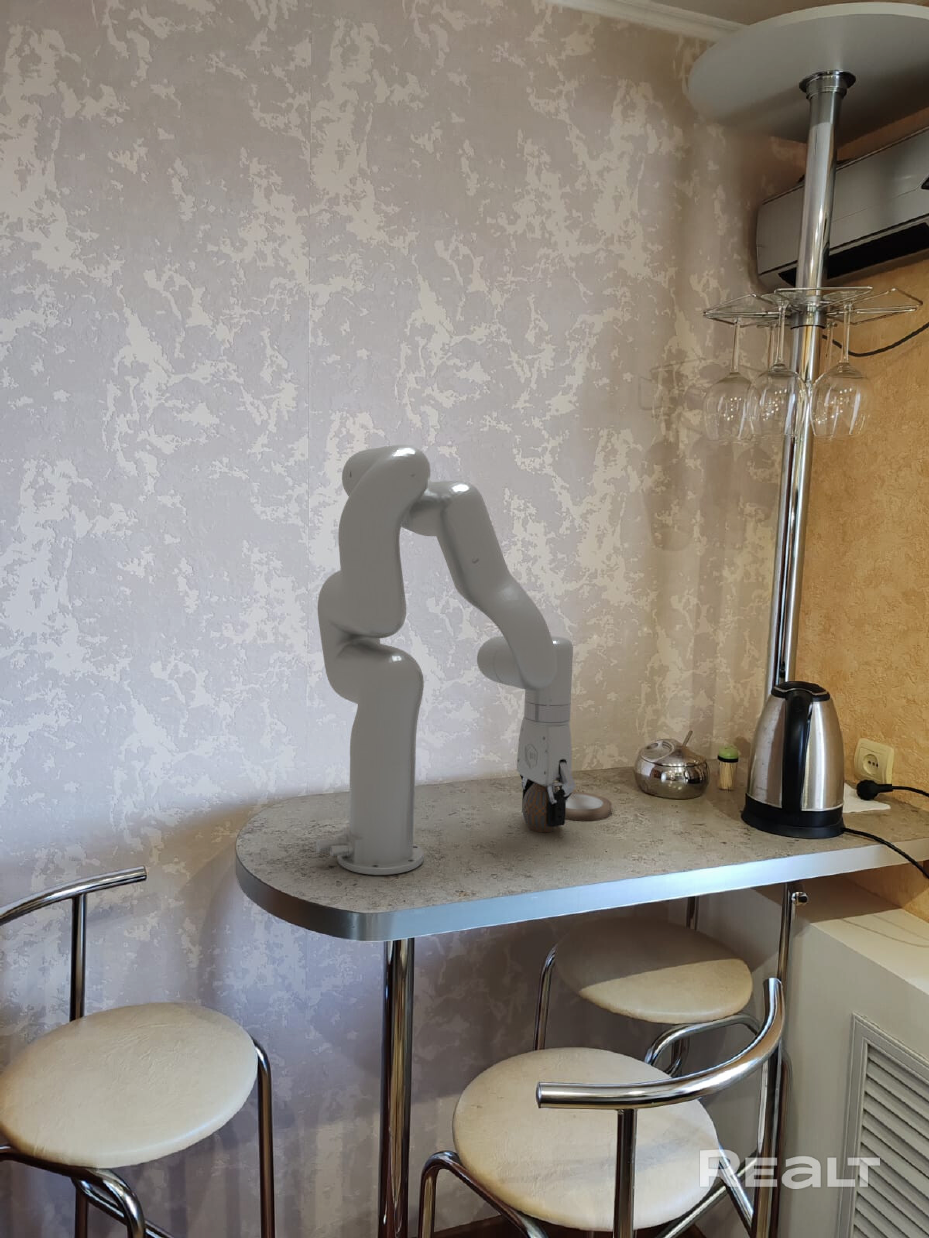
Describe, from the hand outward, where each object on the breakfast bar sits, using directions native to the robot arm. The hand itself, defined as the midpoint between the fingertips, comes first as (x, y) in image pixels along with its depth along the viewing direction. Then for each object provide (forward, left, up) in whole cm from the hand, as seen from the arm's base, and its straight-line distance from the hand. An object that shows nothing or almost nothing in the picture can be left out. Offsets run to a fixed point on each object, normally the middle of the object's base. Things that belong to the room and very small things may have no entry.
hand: (543, 817), depth 147 cm
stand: (+11, +6, -2) cm, 13 cm away
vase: (0, 0, -2) cm, 2 cm away
